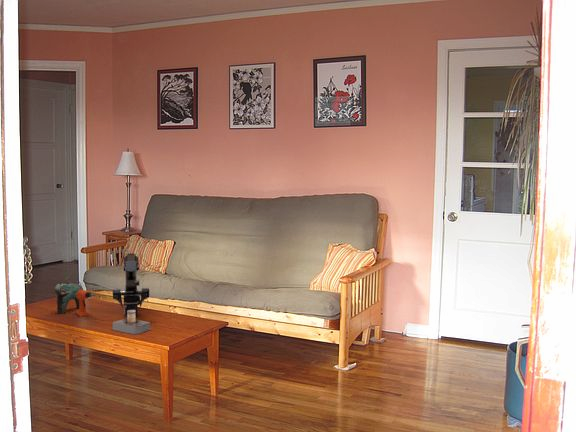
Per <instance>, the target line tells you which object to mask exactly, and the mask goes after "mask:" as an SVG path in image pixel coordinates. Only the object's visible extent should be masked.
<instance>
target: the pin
mask: <svg viewBox="0 0 576 432" xmlns="http://www.w3.org/2000/svg"><path fill="white" fill-rule="evenodd" d="M135 313H136V310H128V311H127V317H126V318H127V323H128V324H134V323H136V320H137V319H136V316H135Z"/></svg>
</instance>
